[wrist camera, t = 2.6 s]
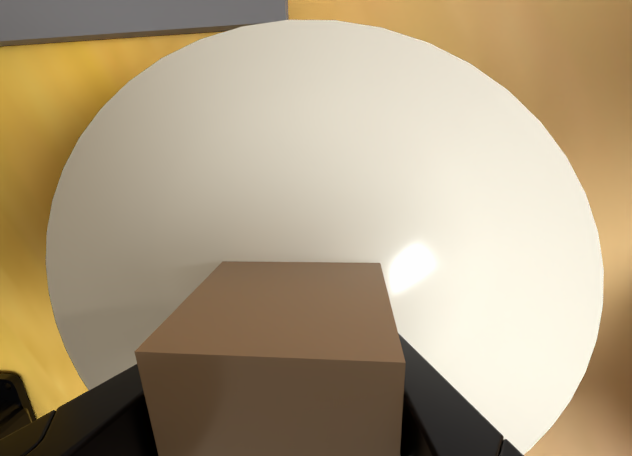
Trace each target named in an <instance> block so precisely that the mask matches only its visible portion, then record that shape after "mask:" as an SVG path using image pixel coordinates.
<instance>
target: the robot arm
mask: <svg viewBox="0 0 632 456" xmlns="http://www.w3.org/2000/svg"><path fill="white" fill-rule="evenodd" d="M398 335H399V339H400V343H401V347H402V351H403V354H404V358H405V362H406V364H405V380H404V396H403V412H402V429H401V445H400V456H524V455H523V454H522V453H521V452H520V451H519V450H518V449H517V448H516V447H515V446H514V445H513V444H512V443H511V442H509V441H508V440H507V439H504V436H503V435H502V434H501V433H500V432H499V431H498V430H497V429H496V428H495V427H494V426H493V425H492V424H491V423H490V422H489V421H488V420H487V419H486V418H485V417H484V416H483V415H482V414H481V413H480V412H479V411H478V410H477V409H476V408H475V407H474V406H473V405H471V404H470V403H469V402H468V401H467V400H466V399H465V398H464V397H463V396H462V395H461V394H460V393H459V392H458V391H457V390H456V389H455V388H454V387H453V386H452V385H451V384H450V383H449V382H448V381H447V380H446V379H445V378H444V377H443V376H442V375H441V374H440V373H439V372H438V371H437V370H436V369H435V368H434V367H433V366H432V365H431V364H430V363H429V362H428V361H427V360H426V359H425V358H424V357H422V356H421V355H420V354H419V353H418V352H417V351H416V350H415V349H414V348H413V347H412V346H411V345H410V344H409V343H408V342H407V341H406V340H405V339H404V338H403V337H402V336H401V335H400V334H399V333H398ZM0 456H159V455H158V451H157V447H156V442H155V438H154V434H153V430H152V425H151V421H150V417H149V412H148V408H147V404H146V400H145V395H144V391H143V387H142V382H141V378H140V374H139V369H138V365H137V364H135V365H134V366H132V367H130V368H128V369H127V370H125V371H123V372H121V373H119V374H118V375H116V376H114V377H112V378H110V379H109V380H107V381H105V382H103V383H101V384H100V385H98V386H96V387H94V388H92V389H91V390H89V391H87V392H85V393H84V394H82V395H80V396H78V397H76V398H75V399H73V400H71V401H69V402H67V403H66V404H64V405H62V406H60V407H59V408H58V409H57V410H56V411H55V410H53V411H51V412H49V413H47V414H46V415H44V416H42V417H40V418H39V419H37V420H36V418H35V415H34V413H33V410H32V407H31V405H30V402H29V399H28V396H27V394H26V391H25V388H24V385H23V383H22V381H21V379H20V378H19V377H18V376H16V375H14V374H0Z"/></svg>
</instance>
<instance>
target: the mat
mask: <svg viewBox="0 0 632 456" xmlns="http://www.w3.org/2000/svg"><path fill="white" fill-rule="evenodd" d="M283 20H288V0H0V46H12V45H27V44H41V43H56V42H71V41H86V40H101V39H116V38H131V37H146V36H160V35H175V34H190V33H205V32H220V31H229V30H232V29H236V28H239V27H242V26H249V25H256V24H263V23H269V22H276V21H283Z"/></svg>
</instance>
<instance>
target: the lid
mask: <svg viewBox="0 0 632 456" xmlns="http://www.w3.org/2000/svg"><path fill="white" fill-rule="evenodd" d="M46 271H47V280H48V290H49V296H50V300H51V305H52V309H53V313H54V317H55V321H56V325H57V327H58V330H59V333H60V335H61V338H62V341H63V343H64V346H65V348H66V351H67V353H68V355H69V357H70V359H71V361H72V363H73V365H74V366H75V368H76V370H77V372H78V374H79V376H80V378H81V379H82V381H83V382H84V384H85V385H86V387H87V388H88V390H91V389H92V388H94V387H96V386H98V385H100V384H101V383H103V382H105V381H107V380H109V379H110V378H112V377H114V376H116V375H118V374H119V373H121V372H123V371H125V370H127V369H128V368H130V367H132V366H134V365H135V364H137V365H138V369H139V374H140V378H141V382H142V387H143V391H144V395H145V400H146V404H147V408H148V412H149V417H150V421H151V425H152V430H153V434H154V438H155V442H156V447H157V451H158V455H159V456H400V445H401V429H402V412H403V396H404V380H405V364H406V362H405V358H404V354H403V351H402V347H401V343H400V339H399V335H398V333H399V334H400V335H401V336H402V337H403V338H404V339H405V340H406V341H407V342H408V343H409V344H410V345H411V346H412V347H413V348H414V349H415V350H416V351H417V352H418V353H419V354H420V355H421V356H422V357H424V358H425V359H426V360H427V361H428V362H429V363H430V364H431V365H432V366H433V367H434V368H435V369H436V370H437V371H438V372H439V373H440V374H441V375H442V376H443V377H444V378H445V379H446V380H447V381H448V382H449V383H450V384H451V385H452V386H453V387H454V388H455V389H456V390H457V391H458V392H459V393H460V394H461V395H462V396H463V397H464V398H465V399H466V400H467V401H468V402H469V403H470V404H471V405H473V406H474V407H475V408H476V409H477V410H478V411H479V412H480V413H481V414H482V415H483V416H484V417H485V418H486V419H487V420H488V421H489V422H490V423H491V424H492V425H493V426H494V427H495V428H496V429H497V430H498V431H499V432H500V433H501V434H502V435H503V436H504V439H507V440H508V441H509V442H511V443H512V444H513V445H514V446H515V447H516V448H517V449H518V450H519V451H520V452H521V453H522V454H523V455H524V454H525V453H526V452H527V451H529V450H530V449H531V448H532V447H533V446H534V445H535V444H536V443H537V442H538V440H539V439H540V438H541V437H542V436H543V435H544V434H545V433H546V432H547V431H548V430H549V429H550V428H551V427H552V426H553V424H554V423H555V421H556V420H557V419H558V417H559V416H560V415H561V413H562V412H563V410H564V409H565V408H566V406H567V405H568V404H569V402H570V401H571V399H572V397H573V395H574V393H575V391H576V389H577V387H578V386H579V384H580V382H581V380H582V378H583V376H584V374H585V372H586V369H587V367H588V364H589V361H590V358H591V355H592V352H593V349H594V347H595V344H596V341H597V336H598V330H599V325H600V319H601V314H602V308H603V274H604V269H603V262H602V255H601V249H600V242H599V235H598V230H597V227H596V224H595V221H594V218H593V215H592V212H591V209H590V205H589V202H588V199H587V196H586V193H585V191H584V189H583V188H582V186H581V184H580V182H579V180H578V178H577V176H576V174H575V172H574V170H573V168H572V166H571V164H570V162H569V160H568V159H567V157H566V155H565V154H564V153H563V151H562V150H561V149H560V147H559V146H558V145H557V143H556V142H555V141H554V139H553V138H552V137H551V135H550V134H549V132H548V131H547V130H546V128H545V127H544V126H543V124H542V123H541V122H540V121H539V120H538V119H537V118H536V117H535V116H534V115H533V114H532V113H531V112H530V111H529V110H528V109H527V108H526V107H525V106H524V105H523V104H522V103H521V102H520V101H519V100H518V99H517V98H516V97H515V96H513V95H512V94H511V93H510V92H509V91H508V90H507V89H506V88H504V87H503V86H501V85H500V84H498V83H497V82H496V81H494V80H493V79H491V78H490V77H489V76H487V75H486V74H484V73H483V72H481V71H480V70H479V69H477V68H476V67H474V66H473V65H472V64H470V63H468V62H466V61H464V60H462V59H460V58H458V57H456V56H454V55H452V54H450V53H448V52H446V51H444V50H442V49H440V48H438V47H436V46H434V45H432V44H430V43H428V42H425V41H422V40H419V39H416V38H412V37H409V36H406V35H403V34H400V33H397V32H394V31H391V30H387V29H384V28H381V27H374V26H368V25H362V24H355V23H349V22H343V21H337V20H283V21H276V22H269V23H263V24H256V25H249V26H242V27H239V28H236V29H232V30H229V31H226V32H223V33H219V34H216V35H213V36H210V37H206V38H203V39H200V40H198V41H196V42H194V43H192V44H190V45H188V46H186V47H184V48H182V49H179V50H177V51H175V52H173V53H171V54H169V55H167V56H165V57H163V58H161V59H160V60H158V61H157V62H156V63H154V64H153V65H151V66H150V67H149V68H147V69H146V70H144V71H143V72H141V73H140V74H139V75H137V76H136V77H134V78H133V79H131V80H130V81H129V82H128V83H127V84H126V85H125V86H124V87H123V88H121V89H120V90H119V91H118V92H117V93H116V94H115V95H114V96H113V97H112V98H111V99H110V100H109V101H108V102H107V103H106V104H105V105H104V106H103V107H102V108H101V109H100V111H99V112H98V113H97V115H96V116H95V117H94V119H93V120H92V121H91V123H90V124H89V125H88V127H87V128H86V129H85V131H84V132H83V133H82V135H81V136H80V137H79V139H78V141H77V143H76V145H75V147H74V149H73V151H72V153H71V155H70V157H69V158H68V160H67V162H66V164H65V166H64V168H63V171H62V174H61V177H60V180H59V182H58V185H57V188H56V191H55V194H54V197H53V200H52V206H51V211H50V217H49V222H48V228H47V240H46Z"/></svg>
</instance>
